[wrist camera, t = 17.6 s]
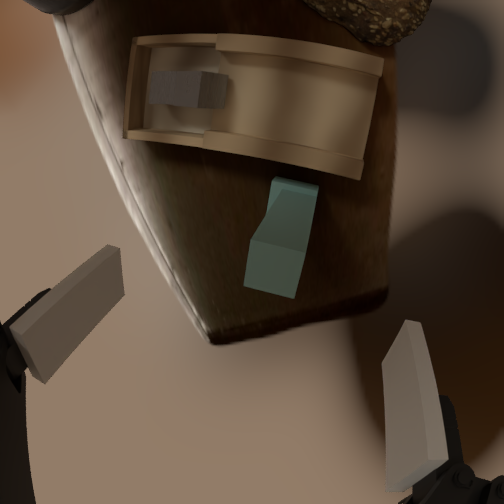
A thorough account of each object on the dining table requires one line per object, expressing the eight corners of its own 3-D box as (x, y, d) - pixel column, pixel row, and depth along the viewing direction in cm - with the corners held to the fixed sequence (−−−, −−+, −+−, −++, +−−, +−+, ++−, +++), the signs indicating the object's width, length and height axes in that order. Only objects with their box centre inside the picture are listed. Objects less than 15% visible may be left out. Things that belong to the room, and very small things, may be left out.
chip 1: (193, 104, 26) (165, 102, 27) (196, 74, 25) (168, 73, 25) (178, 105, 24) (148, 103, 24) (182, 71, 22) (152, 71, 23)
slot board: (377, 65, 21) (384, 58, 18) (356, 172, 26) (359, 180, 23) (150, 41, 25) (130, 36, 22) (140, 134, 29) (120, 138, 26)
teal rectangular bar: (319, 185, 27) (307, 244, 16) (309, 225, 29) (292, 305, 18) (275, 175, 28) (234, 226, 17) (268, 216, 30) (226, 288, 19)
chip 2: (199, 106, 25) (173, 105, 23) (203, 74, 24) (177, 71, 22) (223, 109, 24) (197, 108, 22) (228, 74, 23) (202, 70, 20)
